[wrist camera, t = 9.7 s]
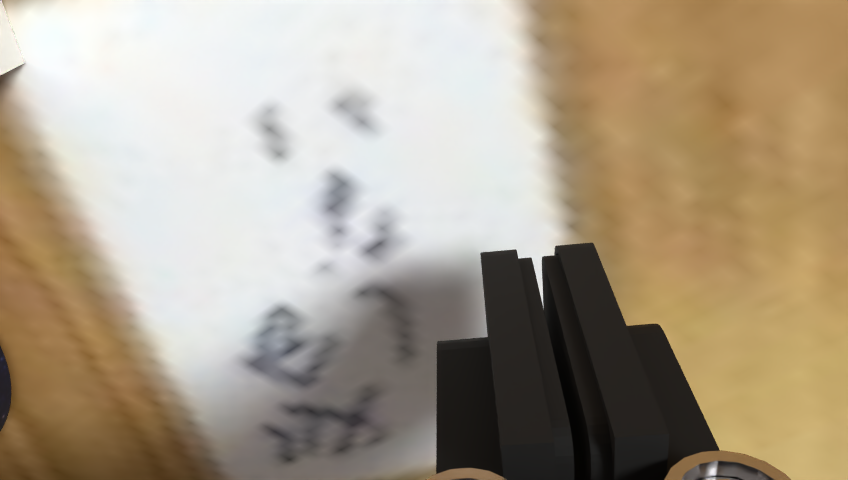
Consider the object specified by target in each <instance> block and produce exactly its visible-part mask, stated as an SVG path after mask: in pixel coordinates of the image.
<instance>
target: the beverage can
mask: <svg viewBox="0 0 848 480" xmlns="http://www.w3.org/2000/svg"><path fill="white" fill-rule="evenodd" d="M10 403H11V381H10V374H9V370H8V366H7V362H6V359H5V356H4V353H3V351H2V349H1V347H0V431H1V429H2V428H3V426H4V423H5V421H6V419H7V416H8V413H9V408H10Z"/></svg>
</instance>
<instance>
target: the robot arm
mask: <svg viewBox="0 0 848 480" xmlns="http://www.w3.org/2000/svg"><path fill="white" fill-rule="evenodd" d="M481 264H482V275H483V287H484V298H485V310H486V321H487V333H488V337H486V338H473V339H461V340H449V341H438V343H437V465H436V474H435V475H432V476H431V477H429V478H427V479H426V480H791V479H790V478H789V477H788V476H787V475H786V474H785V473H783V472H781V471H780V470H778V469H776V468H775V467H773V466H772V465H770V464H768V463H767V462H765V461H762V460H759V459H757V458H754V457H751V456H748V455H746V454H741V453H735V452H728V451H720V450H719V448H718V446H717V444H716V441H715V439H714V437H713V435H712V433H711V431H710V429H709V427H708V424H707V422H706V420H705V418H704V416H703V414H702V412H701V410H700V408H699V405H698V403H697V401H696V399H695V397H694V395H693V393H692V391H691V388H690V386H689V384H688V382H687V380H686V378H685V376H684V374H683V371H682V369H681V367H680V365H679V363H678V361H677V359H676V357H675V355H674V352H673V350H672V348H671V346H670V344H669V342H668V340H667V338H666V335H665V333H664V331H663V330H662V328H661V327H660V325H658V324H645V325H633V326H626V324H625V321H624V319H623V316H622V314H621V311H620V309H619V306H618V303H617V301H616V298H615V296H614V293H613V291H612V288H611V286H610V283H609V281H608V278H607V276H606V273H605V271H604V268H603V266H602V263H601V261H600V258H599V256H598V253H597V251H596V248H595V246H594V244H593V243H583V244H572V245H560V246H556V247H555V256H544V257H542V279H543V304H544V310H543V305H542V301H541V297H540V292H539V288H538V284H537V279H536V275H535V271H534V266H533V262H532V258H521V259H518V255H517V251H516V250H505V251H494V252H483V253H481Z"/></svg>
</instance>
